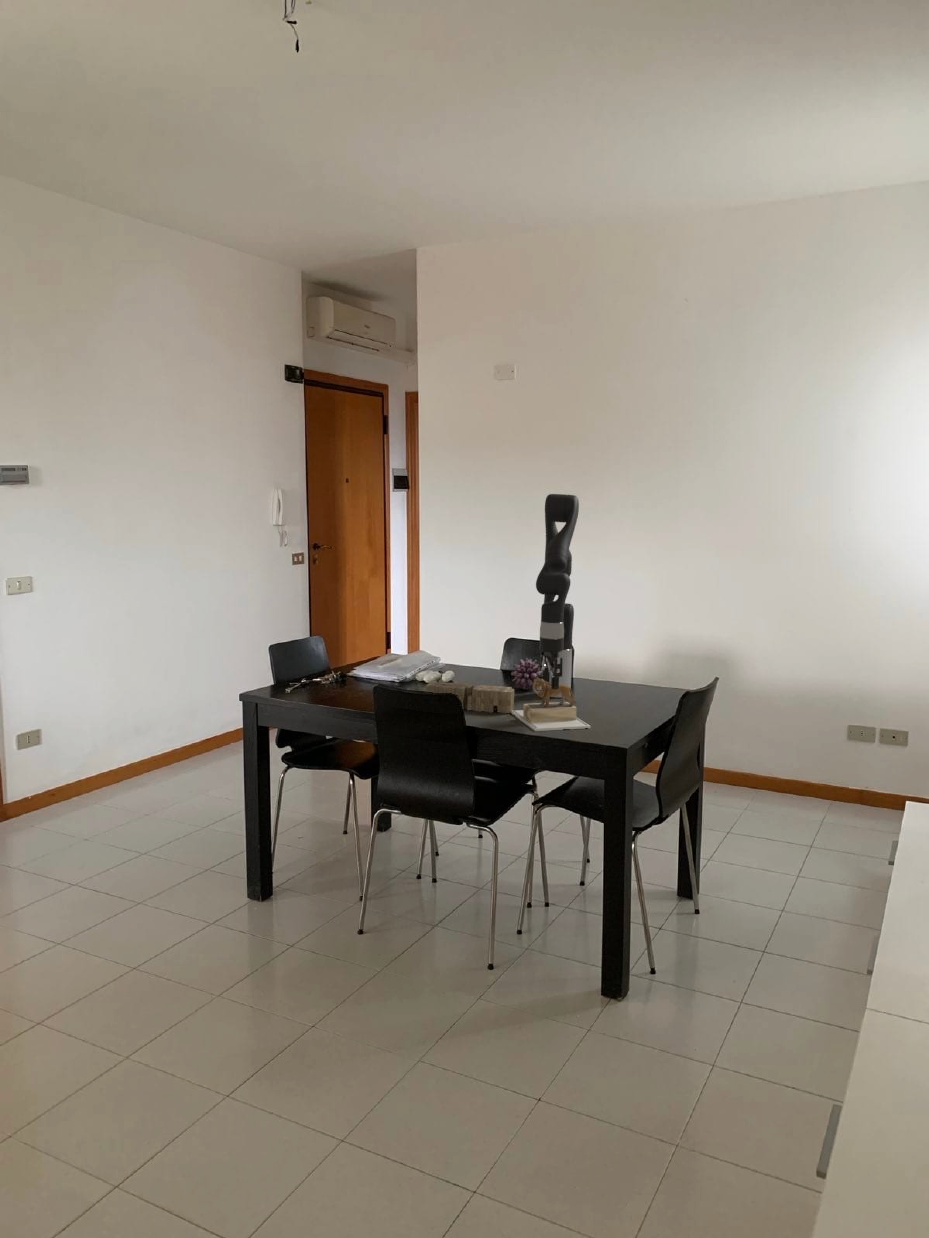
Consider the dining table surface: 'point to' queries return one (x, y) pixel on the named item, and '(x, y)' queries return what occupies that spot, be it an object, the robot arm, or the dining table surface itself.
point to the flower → (526, 673)
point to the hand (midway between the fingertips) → (550, 686)
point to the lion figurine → (552, 692)
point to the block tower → (477, 696)
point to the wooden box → (549, 712)
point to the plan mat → (551, 723)
